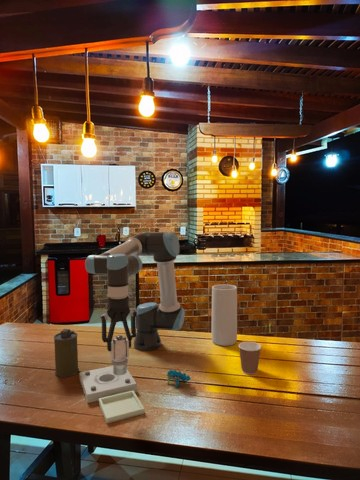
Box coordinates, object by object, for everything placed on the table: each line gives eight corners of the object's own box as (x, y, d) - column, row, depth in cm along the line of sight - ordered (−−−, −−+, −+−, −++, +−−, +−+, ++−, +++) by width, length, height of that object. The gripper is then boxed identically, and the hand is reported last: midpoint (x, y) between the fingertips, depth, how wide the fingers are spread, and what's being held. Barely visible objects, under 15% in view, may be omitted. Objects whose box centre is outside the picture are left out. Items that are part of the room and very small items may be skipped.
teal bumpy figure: (194, 379, 148) (184, 369, 142) (191, 393, 144) (180, 384, 138) (173, 376, 154) (162, 367, 148) (169, 389, 150) (158, 380, 144)
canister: (71, 378, 153) (69, 334, 151) (50, 375, 155) (48, 333, 153) (83, 367, 164) (81, 326, 162) (63, 365, 166) (61, 325, 164)
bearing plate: (123, 370, 159) (123, 362, 159) (136, 391, 141) (136, 381, 141) (79, 380, 151) (79, 370, 151) (87, 403, 133) (87, 392, 132)
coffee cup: (262, 368, 161) (263, 343, 160) (258, 378, 152) (258, 351, 151) (241, 364, 165) (241, 340, 164) (235, 373, 156) (235, 348, 155)
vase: (238, 346, 186) (239, 289, 184) (212, 346, 187) (212, 290, 184) (234, 336, 201) (235, 284, 198) (210, 336, 201) (210, 284, 198)
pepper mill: (125, 367, 132) (124, 332, 131) (130, 374, 126) (129, 337, 125) (110, 370, 129) (109, 335, 128) (113, 377, 124) (113, 340, 123)
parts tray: (133, 395, 139) (133, 390, 138) (144, 413, 126) (144, 408, 126) (98, 403, 133) (98, 398, 133) (106, 423, 120) (106, 418, 120)
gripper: (138, 291, 132) (139, 349, 135) (91, 296, 125) (93, 358, 127) (144, 296, 126) (145, 357, 128) (95, 301, 118) (97, 366, 120)
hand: (119, 357), depth 127 cm, fingers closed on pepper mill, 5 cm apart
